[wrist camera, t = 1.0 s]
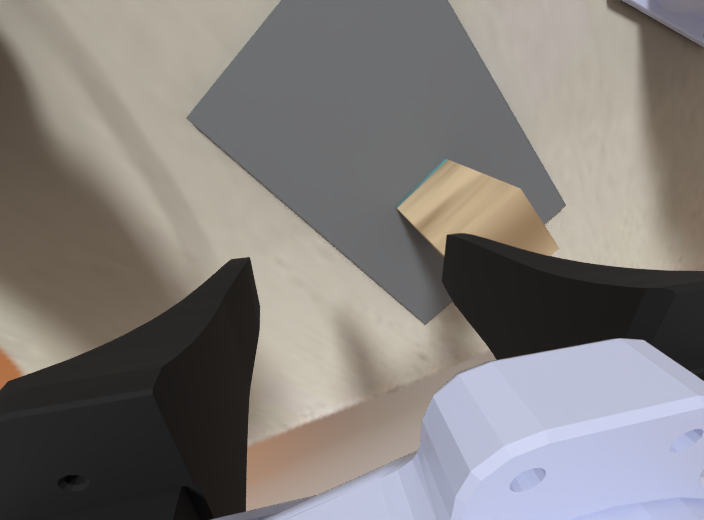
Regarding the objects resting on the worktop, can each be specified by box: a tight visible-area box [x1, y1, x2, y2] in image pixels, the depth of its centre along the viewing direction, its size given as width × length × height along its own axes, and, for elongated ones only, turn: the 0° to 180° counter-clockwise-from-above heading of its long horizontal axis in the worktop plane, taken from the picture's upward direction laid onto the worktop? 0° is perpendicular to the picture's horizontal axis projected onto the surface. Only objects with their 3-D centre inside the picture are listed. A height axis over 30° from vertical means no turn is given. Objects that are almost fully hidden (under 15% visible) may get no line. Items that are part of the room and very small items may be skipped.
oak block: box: [396, 159, 559, 258], centre depth 19 cm, size 4×4×8 cm
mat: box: [187, 0, 566, 324], centre depth 21 cm, size 22×14×1 cm, turn 44°
